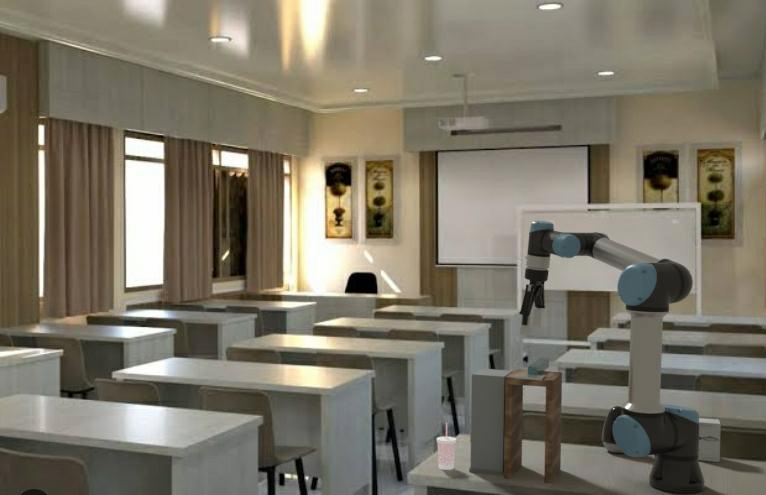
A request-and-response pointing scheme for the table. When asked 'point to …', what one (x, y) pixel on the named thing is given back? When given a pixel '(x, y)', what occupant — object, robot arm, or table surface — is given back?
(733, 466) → the table surface
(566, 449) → the table surface
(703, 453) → the supplement box
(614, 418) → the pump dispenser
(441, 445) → the beverage cup
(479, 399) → the pedestal
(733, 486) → the table surface
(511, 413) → the riser
